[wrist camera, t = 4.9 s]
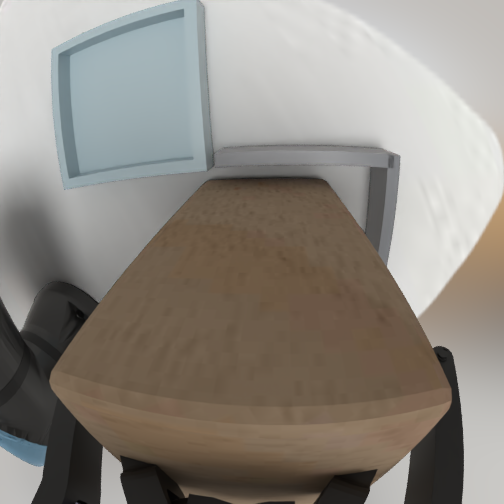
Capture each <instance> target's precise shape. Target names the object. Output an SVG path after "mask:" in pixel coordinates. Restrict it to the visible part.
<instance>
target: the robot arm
mask: <svg viewBox="0 0 504 504" xmlns="http://www.w3.org/2000/svg"><path fill="white" fill-rule="evenodd" d="M97 306H98V304H97V303H96V302H95V301H94V300H93V299H92V298H91V297H89V296H88V295H87V294H85V293H84V292H82V291H81V290H79V289H78V288H76V287H74V286H72V285H69V284H66V283H63V282H51V283H49V284H47V285H46V286H45V287H44V288H43V289H42V290H41V291H40V292H39V293H38V294H37V296H36V297H35V299H34V303H33V305H32V307H31V309H30V312H29V314H28V316H27V319H26V321H25V324H24V327H23V329H22V330H21V331H20V332H19V331H18V329H17V328H16V326H15V324H14V322H13V321H12V319H11V317H10V315H9V313H8V311H7V309H6V307H5V305H4V304H3V302H2V299H1V297H0V446H1V447H2V448H4V449H5V450H7V451H9V452H10V453H11V454H13V455H15V456H16V457H18V458H20V459H21V460H23V461H25V462H27V463H29V464H31V465H34V466H43V465H44V470H43V478H42V481H41V484H40V486H39V488H38V490H37V493H36V494H35V497H34V499H33V501H32V503H31V504H100V497H101V466H102V449H103V445H101V444H100V443H99V442H98V441H97V440H96V439H95V438H94V437H93V436H92V435H91V434H90V433H89V432H88V431H87V430H86V428H85V427H84V426H83V425H82V424H81V423H80V422H79V421H78V420H77V419H76V418H75V417H74V415H73V414H72V413H71V412H70V411H69V410H68V409H67V407H66V406H65V405H64V404H63V403H62V401H61V400H60V399H59V398H58V397H57V395H56V394H55V393H54V391H53V390H52V388H51V385H50V382H49V380H50V375H51V371H52V370H53V368H54V367H55V365H56V364H57V362H58V361H59V359H60V358H61V356H62V355H63V353H64V352H65V350H66V349H67V347H68V346H69V344H70V343H71V341H72V340H73V339H74V337H75V336H76V334H77V333H78V331H79V330H80V329H81V327H82V326H83V325H84V323H85V322H86V320H87V319H88V318H89V316H90V315H91V314H92V312H93V311H94V310H95V308H96V307H97ZM433 350H434V352H435V354H436V356H437V358H438V361H439V363H440V365H441V367H442V369H443V371H444V373H445V376H446V378H447V380H448V382H449V385H450V387H451V392H452V402H451V405H450V408H449V410H448V411H447V412H446V413H445V415H444V416H443V417H442V418H441V419H440V420H439V422H438V423H437V424H436V425H435V426H434V427H433V428H432V429H431V430H430V432H429V433H428V434H427V435H426V436H425V437H424V438H423V439H422V440H421V441H420V442H419V443H418V444H417V445H416V446H415V447H414V448H413V449H412V450H411V455H410V466H409V474H408V483H407V489H406V495H405V501H404V504H462V493H463V474H464V446H463V427H462V414H461V404H460V396H459V389H458V383H457V376H456V370H455V365H454V359H453V355H452V353H451V352H450V351H449V350H448V349H447V348H445V347H442V346H438V347H434V348H433ZM120 459H121V463H122V466H123V473H121V476H120V478H121V483H122V487H123V490H124V494H125V497H126V500H127V504H232V503H229V502H226V501H223V500H220V499H217V498H214V497H207V496H201V495H194V494H189V496H188V497H187V498H185V496H184V494H183V492H182V490H181V489H180V487H179V485H178V484H177V483H176V482H175V481H174V480H172V479H171V478H170V477H169V476H168V475H167V474H166V473H165V472H164V471H163V470H162V469H161V468H160V467H158V466H157V465H156V464H150V463H146V462H142V461H138V460H135V459H131V458H128V457H124V456H121V455H120ZM377 470H378V469H375V470H369V471H364V472H358V473H351V474H343V475H334V476H333V478H332V479H331V480H330V482H329V483H328V484H327V486H326V487H325V488H324V490H323V491H322V492H321V494H320V495H319V496H318V498H317V499H316V501H315V502H314V504H364V502H365V501H366V498H367V496H368V494H369V491H370V485H371V483H372V481H373V478H374V476H375V474H376V472H377ZM256 504H295V501H268V502H262V503H256Z"/></svg>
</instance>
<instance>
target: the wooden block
mask: <svg viewBox="0 0 504 504" xmlns="http://www.w3.org/2000/svg"><path fill="white" fill-rule="evenodd" d="M49 382H50V385H51V388H52V390H53V391H54V393H55V394H56V395H57V397H58V398H59V399H60V400H61V401H62V403H63V404H64V405H65V406H66V407H67V409H68V410H69V411H70V412H71V413H72V414H73V415H74V417H75V418H76V419H77V420H78V421H79V422H80V423H81V424H82V425H83V426H84V427H85V428H86V430H87V431H88V432H89V433H90V434H91V435H92V436H93V437H94V438H95V439H96V440H97V441H98V442H99V443H100V444H101V445H103V446H104V447H105V448H106V449H107V450H108V451H109V452H110V453H111V454H112V455H113V456H115V457H116V458H117V459H118V460H119V461H120V462H121V459H120V455H121V456H124V457H128V458H131V459H135V460H138V461H142V462H146V463H150V464H156V465H157V466H158V467H160V468H161V469H162V470H163V471H164V472H165V473H166V474H167V475H168V476H169V477H170V478H171V479H172V480H174V481H175V482H176V483H177V484H178V485H179V487H180V489H181V490H182V492H183V494H184V496H185V497H186V498H187V497H188V496H189V494H194V495H201V496H207V497H214V498H217V499H220V500H223V501H226V502H229V503H232V504H256V503H262V502H268V501H295V504H314V502H315V501H316V499H317V498H318V496H319V495H320V494H321V492H322V491H323V490H324V488H325V487H326V486H327V484H328V483H329V482H330V480H331V479H332V478H333V476H334V475H343V474H351V473H358V472H364V471H369V470H375V469H378V470H377V472H376V474H375V476H374V478H373V481H372V483H371V485H372V484H373V483H374V482H376V481H377V480H378V479H379V478H381V477H382V476H383V475H384V474H385V473H387V472H388V471H389V470H390V469H391V468H392V467H393V466H395V465H396V464H397V463H398V462H399V461H400V460H401V459H402V458H403V457H405V456H406V455H407V454H408V453H409V452H410V451H411V450H412V449H413V448H414V447H415V446H416V445H417V444H418V443H419V442H420V441H421V440H422V439H423V438H424V437H425V436H426V435H427V434H428V433H429V432H430V430H431V429H432V428H433V427H434V426H435V425H436V424H437V423H438V422H439V420H440V419H441V418H442V417H443V416H444V415H445V413H446V412H447V411H448V410H449V408H450V405H451V402H452V392H451V387H450V385H449V382H448V380H447V378H446V376H445V373H444V371H443V369H442V367H441V365H440V363H439V361H438V358H437V356H436V354H435V352H434V350H433V348H432V346H431V344H430V342H429V340H428V339H427V336H426V335H425V333H424V331H423V329H422V327H421V325H420V323H419V321H418V320H417V318H416V316H415V314H414V312H413V310H412V309H411V307H410V305H409V303H408V302H407V300H406V298H405V296H404V295H403V293H402V291H401V290H400V288H399V286H398V285H397V283H396V281H395V280H394V278H393V276H392V275H391V273H390V272H389V270H388V268H387V267H386V265H385V264H384V262H383V261H382V259H381V257H380V256H379V254H378V253H377V251H376V250H375V248H374V247H373V245H372V244H371V242H370V241H369V239H368V238H367V236H366V235H365V233H364V232H363V230H362V229H361V228H360V226H359V225H358V223H357V222H356V220H355V219H354V218H353V216H352V215H351V213H350V212H349V211H348V209H347V208H346V207H345V205H344V204H343V203H342V201H341V200H340V198H339V197H338V196H337V194H336V193H335V192H334V191H333V189H332V188H331V187H330V185H329V184H328V183H327V181H325V180H323V179H231V180H209V181H207V182H205V183H204V184H203V185H202V186H201V187H200V188H199V189H198V190H197V191H196V192H195V193H194V194H193V195H192V196H191V197H190V198H189V199H188V200H187V201H186V202H185V204H184V205H183V206H182V207H181V208H180V209H179V210H178V211H177V212H176V213H175V214H174V215H173V216H172V217H171V219H170V220H169V221H168V222H167V223H166V224H165V225H164V226H163V227H162V229H161V230H160V231H159V232H158V233H157V234H156V235H155V236H154V237H153V239H152V240H151V241H150V242H149V243H148V244H147V246H146V247H145V248H144V249H143V250H142V251H141V252H140V254H139V255H138V256H137V257H136V258H135V260H134V261H133V262H132V263H131V264H130V266H129V267H128V268H127V269H126V270H125V272H124V273H123V274H122V275H121V276H120V278H119V279H118V280H117V281H116V283H115V284H114V285H113V286H112V288H111V289H110V290H109V292H108V293H107V294H106V295H105V297H104V298H103V299H102V301H101V302H100V303H99V304H98V306H97V307H96V308H95V310H94V311H93V312H92V314H91V315H90V316H89V318H88V319H87V320H86V322H85V323H84V325H83V326H82V327H81V329H80V330H79V331H78V333H77V334H76V336H75V337H74V339H73V340H72V341H71V343H70V344H69V346H68V347H67V349H66V350H65V352H64V353H63V355H62V356H61V358H60V359H59V361H58V362H57V364H56V365H55V367H54V368H53V370H52V371H51V375H50V380H49ZM371 485H370V486H371Z"/></svg>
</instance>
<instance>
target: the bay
mask: <svg viewBox="0 0 504 504" xmlns="http://www.w3.org/2000/svg"><path fill="white" fill-rule="evenodd" d="M214 161H215V167H231V166H253V165H346V166H367V167H371V173H370V189H369V202H368V213H367V223H366V232H365V235H366V236H367V238H368V239H369V241H370V242H371V244H372V245H373V247H374V248H375V250H376V251H377V253H378V254H379V256H380V257H381V259H382V261H383V262H384V264H385V265H386V267H387V262H388V257H389V251H390V245H391V239H392V233H393V226H394V219H395V211H396V202H397V193H398V182H399V170H400V155H397V154H395V153H392V152H390V151H387V150H384V149H380V148H367V147H351V146H327V145H267V146H243V147H226V148H223V149H221V150H219V151H218V152H216V153H214Z"/></svg>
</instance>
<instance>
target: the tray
mask: <svg viewBox="0 0 504 504" xmlns="http://www.w3.org/2000/svg"><path fill="white" fill-rule="evenodd" d="M51 85H52V107H53V119H54V129H55V138H56V146H57V153H58V159H59V165H60V171H61V177H62V182H63V187H64V190H66V189H71V188H77V187H82V186H88V185H94V184H100V183H106V182H113V181H120V180H127V179H134V178H142V177H150V176H159V175H168V174H179V173H190V172H202V171H208V170H209V169H210V168H211V167H213V166H214V161H213V149H212V137H211V124H210V111H209V96H208V81H207V64H206V44H205V21H204V6H203V5H202V3H201V2H200V1H199V0H178V1H174V2H170V3H166V4H162V5H158V6H155V7H151V8H148V9H144V10H141V11H138V12H135V13H132V14H129V15H126V16H123V17H121V18H118V19H115V20H113V21H110V22H108V23H105V24H103V25H100V26H98V27H96V28H93V29H91V30H89V31H87V32H85V33H82V34H80V35H78V36H76V37H74V38H72V39H70V40H68V41H66V42H64V43H63V44H61V45H59V46H57V47H55V48H53V49H52V57H51Z"/></svg>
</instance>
